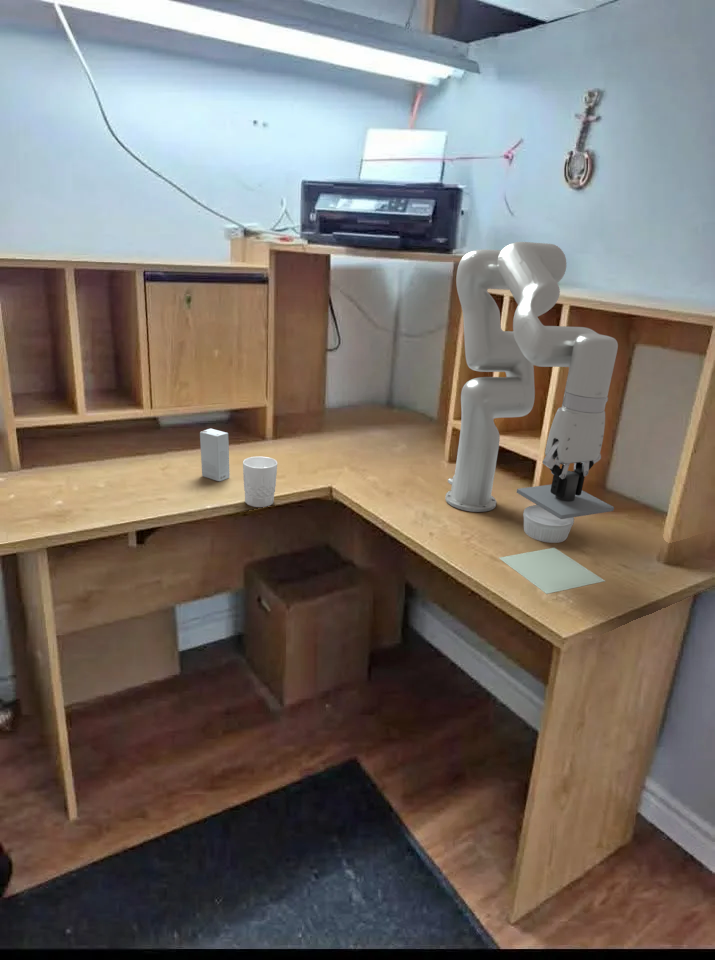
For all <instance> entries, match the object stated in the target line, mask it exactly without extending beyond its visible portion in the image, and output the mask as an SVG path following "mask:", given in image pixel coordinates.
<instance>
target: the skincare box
mask: <svg viewBox="0 0 715 960" xmlns="http://www.w3.org/2000/svg"><path fill="white" fill-rule="evenodd" d="M199 439H200V441H199V443H200V458H201V459H200V460H201V461H200V462H201V476H202V477H204V478H207V479H210V480H213V481H217V482H223V481H225V480H228V479H229V478H230V475H231V474H230V453H229V451H230V450H229V449H230V447H229V444H230V443H229V433H228V432H225V431H222V430H218V429H214V428H207V429H204V430H202V431H200V432H199Z"/></svg>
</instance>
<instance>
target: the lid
mask: <svg viewBox="0 0 715 960" xmlns="http://www.w3.org/2000/svg"><path fill="white" fill-rule="evenodd" d="M572 471H573V470H568V471H567V474H566V477H565V478H566V479H567V484H566V489H565V494H564V497H563V498H559V497H557V496H556V495H554V494H552V493H551V486H552V483H550V484H544V485H537V486H529V487H521V488H517V489H516V494H518V495H520V496H521V497H523V498H525V499H527V500H528V501H530V502H532V503H533V504H534V505H538V506H540V507H541V508H543V509H545V510H546V511H548V512H550V513H551V514H553V515H555V516H556V517H558V518H560V519H566V518H572V517H574V518H577V517H578V518H579V517H584V516H591V515H596V514H603V513H604V514H605V513H609V512H613V511H614V510H615V507H614V506H613V505H611V504H609V503H607V502H605V501H603V500H601V499H599V498H598V497H595V496H594V495H592V494H590V493H588V492H587V491H585V490H583V489H582V492H581V495H579V496H577V495H575V494H576V489H577V484H578V479H579V474H577V473H575V472H572Z"/></svg>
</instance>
